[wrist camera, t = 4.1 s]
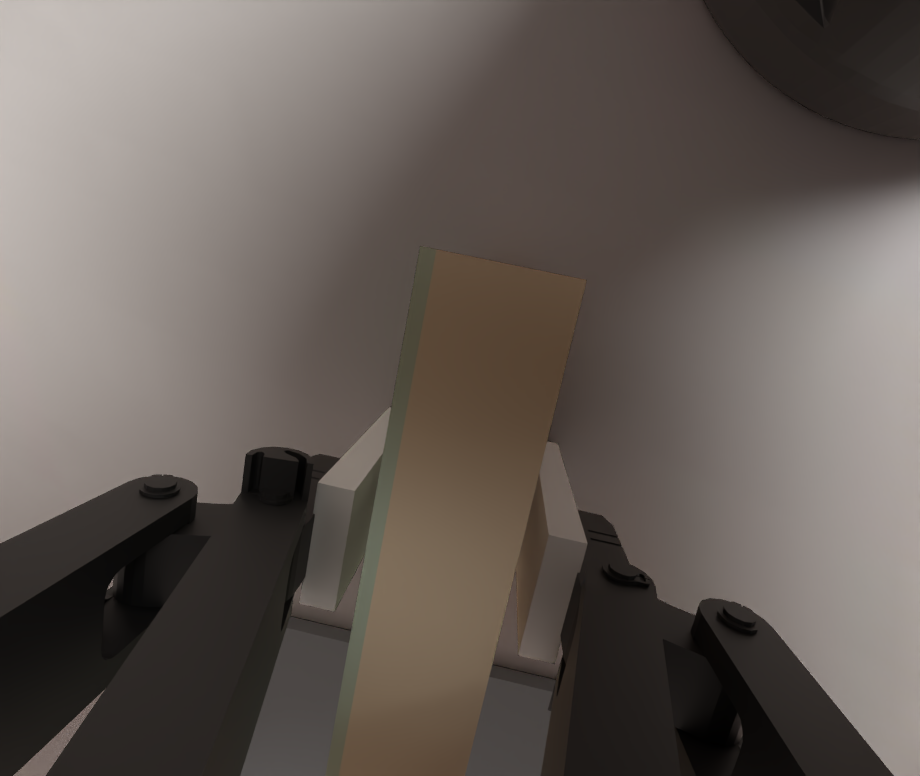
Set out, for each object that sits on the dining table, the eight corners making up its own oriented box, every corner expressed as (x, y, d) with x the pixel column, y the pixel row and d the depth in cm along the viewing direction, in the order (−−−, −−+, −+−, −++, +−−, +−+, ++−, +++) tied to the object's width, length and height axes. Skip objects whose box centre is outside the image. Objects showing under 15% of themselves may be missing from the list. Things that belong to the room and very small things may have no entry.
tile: (473, 267, 16) (419, 245, 6) (539, 280, 16) (586, 280, 6) (403, 615, 19) (288, 983, 9) (460, 628, 19) (405, 1015, 9)
